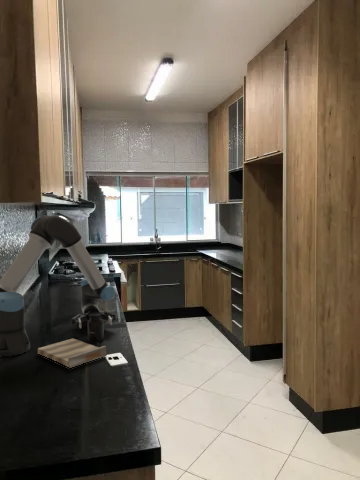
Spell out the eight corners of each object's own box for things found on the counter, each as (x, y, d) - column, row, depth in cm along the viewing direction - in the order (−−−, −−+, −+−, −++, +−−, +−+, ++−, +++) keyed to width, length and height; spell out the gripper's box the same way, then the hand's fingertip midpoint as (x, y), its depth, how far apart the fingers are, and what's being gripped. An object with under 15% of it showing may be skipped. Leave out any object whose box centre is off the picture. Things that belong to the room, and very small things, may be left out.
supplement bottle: (88, 343, 164) (87, 316, 163) (87, 339, 171) (86, 312, 170) (104, 342, 166) (103, 315, 165) (103, 337, 172) (102, 311, 172)
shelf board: (37, 354, 152) (37, 344, 152) (72, 344, 164) (72, 334, 164) (70, 369, 137) (70, 358, 137) (106, 356, 149) (106, 346, 149)
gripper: (116, 317, 197) (123, 328, 177) (65, 322, 188) (67, 335, 168) (115, 303, 196) (123, 312, 176) (64, 307, 188) (66, 318, 168)
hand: (96, 323), depth 172 cm, fingers open, 13 cm apart
